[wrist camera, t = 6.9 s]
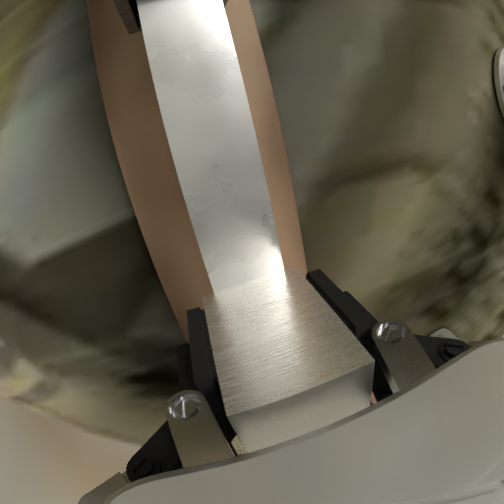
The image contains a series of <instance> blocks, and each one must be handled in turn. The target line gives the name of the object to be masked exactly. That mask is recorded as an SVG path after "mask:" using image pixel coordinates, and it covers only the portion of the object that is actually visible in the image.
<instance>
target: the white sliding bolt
mask: <svg viewBox="0 0 504 504" xmlns="http://www.w3.org/2000/svg"><path fill="white" fill-rule="evenodd" d="M136 1H137V6H138V12H139V17H140V22H141V27H142V32H143V37H144V42H145V47H146V51H147V56H148V60H149V65H150V69H151V74H152V78H153V82H154V87H155V91H156V95H157V99H158V103H159V107H160V111H161V115H162V119H163V123H164V127H165V131H166V135H167V138H168V142H169V146H170V150H171V153H172V157H173V161H174V164H175V168H176V171H177V175H178V178H179V182H180V185H181V189H182V192H183V196H184V199H185V203H186V206H187V209H188V213H189V216H190V219H191V223H192V226H193V229H194V232H195V236H196V239H197V242H198V245H199V248H200V251H201V255H202V258H203V261H204V264H205V267H206V270H207V273H208V276H209V279H210V282H211V285H212V288H213V291H214V293H211V294H208V295H204V296H202V298H203V304H204V310H205V315H206V321H207V326H208V331H209V336H210V342H211V347H212V352H213V357H214V361H215V366H216V371H217V376H218V380H219V385H220V389H221V394H222V398H223V403H224V407H225V411H226V416H227V418H228V420H229V422H230V423H231V425H232V427H233V429H234V430H235V432H236V434H237V436H238V437H239V439H240V441H241V443H242V444H243V446H244V448H245V449H246V451H247V453H250V452H253V451H257V450H260V449H263V448H267V447H270V446H273V445H276V444H279V443H282V442H285V441H288V440H291V439H294V438H296V437H299V436H302V435H304V434H307V433H310V432H312V431H315V430H317V429H320V428H322V427H325V426H327V425H330V424H332V423H334V422H337V421H339V420H341V419H344V418H346V417H348V416H350V415H352V414H354V413H357V412H359V411H361V410H363V409H365V408H367V407H369V406H370V402H371V394H372V385H373V376H374V365H375V360H374V359H373V357H372V356H371V355H370V354H369V353H368V351H367V350H366V349H365V348H364V347H363V345H362V344H361V343H360V342H359V341H358V339H357V338H356V337H355V336H354V335H353V333H352V332H351V331H350V330H349V329H348V327H347V326H346V325H345V324H344V323H343V321H342V320H341V319H340V318H339V317H338V316H337V314H336V313H335V312H334V311H333V310H332V308H331V307H330V306H329V305H328V304H327V303H326V301H325V300H324V299H323V298H322V297H321V296H320V294H319V293H318V292H317V291H316V290H315V289H314V287H313V286H312V285H311V284H310V283H309V282H308V280H307V279H306V278H305V277H304V276H303V275H302V273H301V272H300V271H299V270H298V269H297V268H296V267H293V268H290V269H287V270H284V266H283V261H282V256H281V251H280V246H279V241H278V236H277V231H276V226H275V221H274V216H273V211H272V206H271V202H270V197H269V192H268V188H267V183H266V178H265V174H264V169H263V165H262V160H261V156H260V151H259V147H258V142H257V138H256V133H255V129H254V125H253V120H252V116H251V112H250V108H249V103H248V99H247V95H246V91H245V87H244V83H243V78H242V74H241V70H240V66H239V62H238V58H237V54H236V50H235V47H234V43H233V39H232V35H231V31H230V27H229V23H228V20H227V16H226V12H225V8H224V5H223V1H222V0H136Z"/></svg>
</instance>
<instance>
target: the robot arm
mask: <svg viewBox="0 0 504 504" xmlns="http://www.w3.org/2000/svg"><path fill="white" fill-rule="evenodd" d="M494 81H495V88H496V94H497V98H498V102H499V106H500V110H501V113H502V116H503V118H504V47H500V48H499V49H498V50H497V52H496V55H495V58H494ZM305 278H306V279H307V280H308V282H309V283H310V284H311V285H312V286H313V287H314V289H315V290H316V291H317V292H318V293H319V294H320V296H321V297H322V298H323V299H324V300H325V301H326V303H327V304H328V305H329V306H330V307H331V308H332V310H333V311H334V312H335V313H336V314H337V316H338V317H339V318H340V319H341V320H342V321H343V323H344V324H345V325H346V326H347V327H348V329H349V330H350V331H351V332H352V333H353V335H354V336H355V337H356V338H357V339H358V341H359V342H360V343H361V344H362V345H363V347H364V348H365V349H366V350H367V351H368V353H369V354H370V355H371V356H372V357H373V359H374V360H375V365H374V376H373V385H372V394H371V400H372V402H373V405H371V406H369V407H367V408H365V409H363V410H361V411H359V412H357V413H354V414H352V415H350V416H348V417H346V418H344V419H341V420H339V421H337V422H334V423H332V424H330V425H327V426H325V427H322V428H320V429H317V430H315V431H312V432H310V433H307V434H304V435H302V436H299V437H296V438H294V439H291V440H288V441H285V442H282V443H279V444H276V445H273V446H270V447H267V448H263V449H260V450H257V451H253V452H250V453H246V454H243V455H239V456H238V454H237V452H236V450H235V448H234V446H233V445H232V443H231V441H232V440H233V439H234V437H235V436H236V435H237V434H236V432H235V430H234V429H233V427H232V425H231V423H230V422H229V420H228V418H227V416H226V411H225V407H224V403H223V398H222V394H221V389H220V385H219V380H218V376H217V371H216V366H215V361H214V357H213V352H212V347H211V342H210V336H209V331H208V326H207V321H206V315H205V310H204V309H203V310H201V309H200V307H197V308H194V309H190V310H187V322H188V333H189V343H186V344H183V345H179V346H178V347H177V355H178V372H179V386H180V392H179V393H177V394H175V395H173V396H172V397H171V398H170V399H169V401H168V402H167V404H166V407H165V414H166V418H167V421H166V422H165V423H164V424H163V425H162V426H161V427H160V429H159V430H158V431H157V432H156V433H155V434H154V435H153V436H152V437H151V438H150V439H149V440H148V441H147V442H146V443H145V444H144V445H143V446H142V447H141V449H140V450H139V451H138V452H137V453H136V454H135V455H134V456H133V457H132V458H131V459H130V461H129V462H128V464H127V467H126V471H125V472H124V473H122V474H121V473H120V472H118V473H117V474H115V475H114V476H113V477H111V478H110V479H108V480H107V481H105V482H104V483H102V484H101V485H99V486H98V487H96V488H95V489H93V490H92V491H90V492H89V493H87V494H85V495H84V496H83V497H82V498H81V499H80V500H79V503H78V504H504V338H501V339H492V340H483V341H473V342H470V343H469V345H467V344H466V343H465V342H463V341H461V340H458V339H453V338H441V337H430V336H420V335H414V334H413V333H412V331H411V330H410V329H409V327H408V326H407V325H406V324H405V323H403V322H401V321H398V320H391V319H389V320H384V321H381V322H378V321H377V320H376V319H375V318H374V317H373V316H372V315H371V314H370V313H369V312H368V311H367V310H366V309H365V308H364V307H363V306H362V305H361V304H360V303H359V302H358V301H357V300H356V299H355V298H354V297H353V296H352V295H351V294H350V293H349V292H347V291H345V292H342V291H341V290H340V289H339V288H338V287H337V286H336V285H335V284H334V283H333V282H332V281H331V280H330V279H329V278H328V277H327V276H326V275H325V274H324V273H323V272H322V271H321V270H320V269H317V270H314V271H311V272H308V273H307V274H306V277H305Z"/></svg>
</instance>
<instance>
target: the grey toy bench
mask: <svg viewBox="0 0 504 504" xmlns="http://www.w3.org/2000/svg"><path fill="white" fill-rule="evenodd" d="M222 1H223V5H224V8H225V7H226V4H227V2H228V0H222ZM113 2H114V4H115V6H116V8H117V10H118V12H119V14H120V16H121V19H122V21H123V23H124V25H125V27H126V29H127V31H128V33H129V35H130V34H133V33H136V32H140V31H142V27H141V22H140V17H139V12H138V6H137V1H136V0H113Z"/></svg>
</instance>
